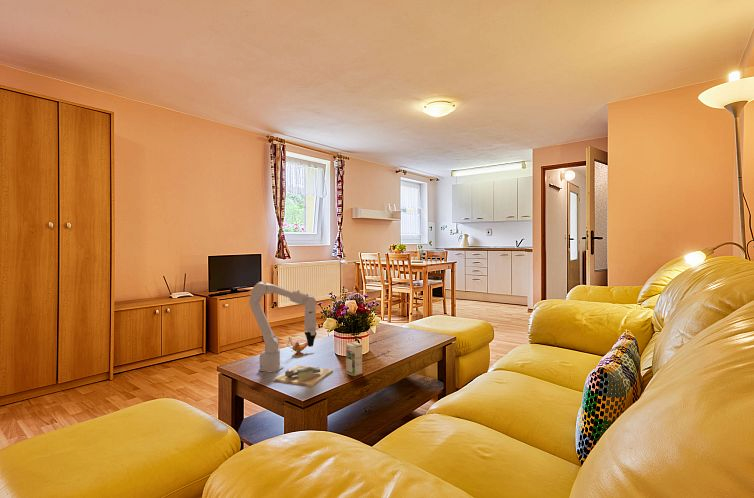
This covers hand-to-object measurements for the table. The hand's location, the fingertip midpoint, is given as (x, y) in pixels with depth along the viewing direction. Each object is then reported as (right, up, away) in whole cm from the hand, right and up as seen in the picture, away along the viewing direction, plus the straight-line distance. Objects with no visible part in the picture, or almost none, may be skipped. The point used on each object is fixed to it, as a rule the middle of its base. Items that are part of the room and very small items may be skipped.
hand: (310, 346), depth 190 cm
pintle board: (-1, -11, -13) cm, 17 cm away
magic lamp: (-10, -10, +23) cm, 27 cm away
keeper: (+1, -10, -17) cm, 20 cm away
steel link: (-1, -9, -16) cm, 18 cm away
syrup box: (+23, -11, -10) cm, 27 cm away
